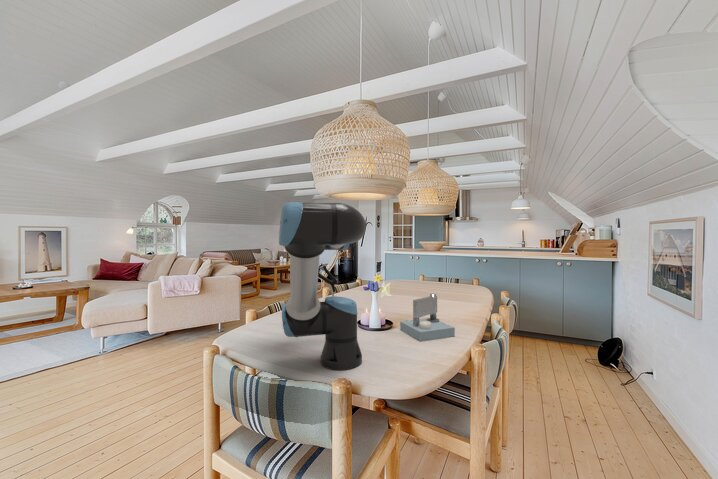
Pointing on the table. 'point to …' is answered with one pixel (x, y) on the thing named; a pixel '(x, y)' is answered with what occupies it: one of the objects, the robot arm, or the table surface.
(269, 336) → the table surface
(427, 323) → the cover cap
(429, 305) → the grey upright panel
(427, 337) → the blue-grey square base
